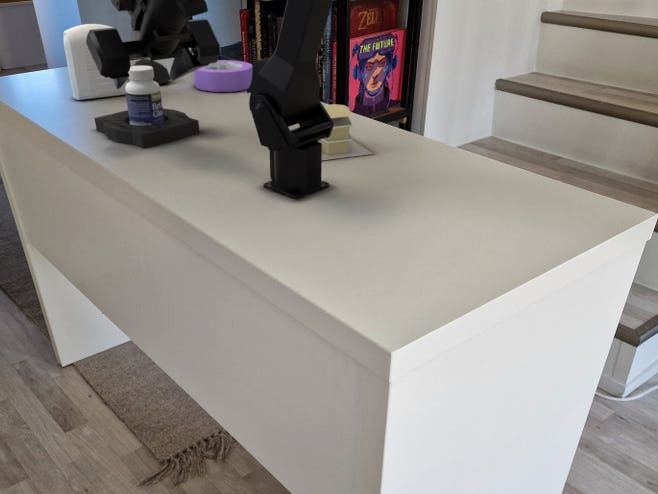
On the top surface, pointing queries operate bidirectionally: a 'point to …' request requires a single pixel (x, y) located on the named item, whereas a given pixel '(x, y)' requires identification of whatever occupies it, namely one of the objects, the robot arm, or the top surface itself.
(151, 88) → the pill bottle
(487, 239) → the top surface
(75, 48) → the white upright block
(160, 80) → the gaming mouse
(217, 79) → the tape roll
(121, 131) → the pad
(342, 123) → the stacked layers on plate
